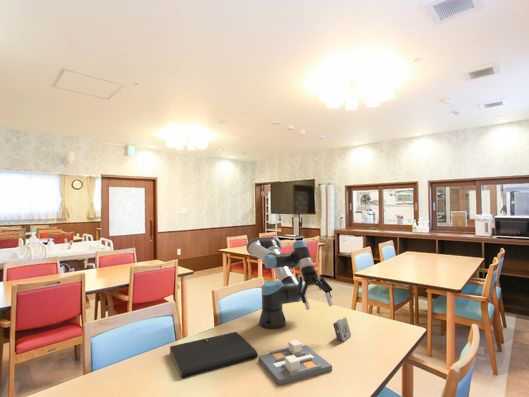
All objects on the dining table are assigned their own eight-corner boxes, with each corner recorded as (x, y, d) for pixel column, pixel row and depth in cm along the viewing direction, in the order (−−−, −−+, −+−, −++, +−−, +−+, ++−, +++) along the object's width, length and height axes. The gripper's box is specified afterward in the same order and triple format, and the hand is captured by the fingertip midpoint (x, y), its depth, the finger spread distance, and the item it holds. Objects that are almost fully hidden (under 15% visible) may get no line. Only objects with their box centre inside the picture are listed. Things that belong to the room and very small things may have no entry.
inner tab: (288, 350, 136) (288, 341, 136) (296, 348, 137) (296, 339, 137) (294, 355, 131) (293, 345, 131) (302, 353, 133) (301, 344, 133)
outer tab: (285, 367, 122) (284, 356, 122) (293, 364, 123) (293, 354, 123) (291, 373, 117) (290, 362, 117) (300, 370, 119) (299, 360, 119)
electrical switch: (343, 342, 148) (341, 322, 149) (334, 340, 151) (331, 321, 152) (351, 336, 155) (349, 317, 156) (342, 334, 158) (340, 316, 159)
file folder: (236, 330, 155) (257, 350, 134) (236, 338, 155) (257, 360, 134) (169, 345, 140) (181, 371, 118) (169, 354, 139) (181, 381, 118)
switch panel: (258, 360, 131) (258, 353, 132) (306, 349, 141) (306, 343, 141) (278, 385, 113) (278, 377, 113) (332, 370, 123) (331, 362, 123)
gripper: (289, 266, 155) (301, 308, 144) (329, 263, 165) (344, 301, 154) (283, 272, 161) (295, 313, 149) (323, 268, 171) (336, 306, 159)
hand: (319, 307), depth 152 cm, fingers open, 13 cm apart
